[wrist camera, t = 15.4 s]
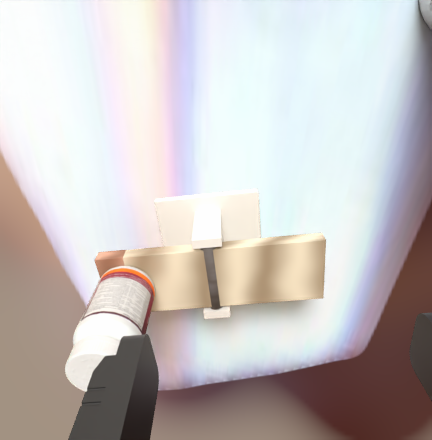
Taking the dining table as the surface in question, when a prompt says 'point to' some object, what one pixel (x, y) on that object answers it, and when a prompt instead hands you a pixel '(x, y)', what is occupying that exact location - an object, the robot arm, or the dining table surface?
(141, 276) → the pill bottle
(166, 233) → the pivot stand
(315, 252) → the board
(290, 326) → the dining table surface
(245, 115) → the dining table surface
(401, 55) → the dining table surface
